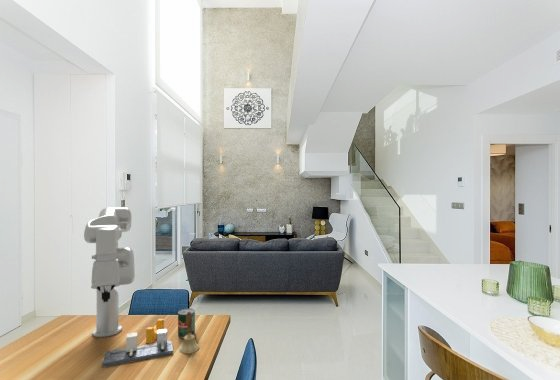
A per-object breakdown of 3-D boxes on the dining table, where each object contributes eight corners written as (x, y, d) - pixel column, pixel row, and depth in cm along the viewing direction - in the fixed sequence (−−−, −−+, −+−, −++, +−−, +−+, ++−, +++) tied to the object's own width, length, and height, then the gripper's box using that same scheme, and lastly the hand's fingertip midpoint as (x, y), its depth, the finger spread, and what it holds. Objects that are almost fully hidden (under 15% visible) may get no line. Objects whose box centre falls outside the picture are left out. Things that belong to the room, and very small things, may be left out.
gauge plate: (105, 355, 132) (105, 337, 132) (171, 343, 142) (171, 326, 142) (102, 367, 122) (102, 347, 123) (172, 354, 132) (173, 336, 133)
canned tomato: (194, 330, 156) (194, 307, 157) (195, 336, 149) (195, 313, 149) (177, 332, 154) (177, 309, 154) (177, 339, 146) (177, 315, 147)
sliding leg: (126, 348, 134) (126, 333, 134) (137, 346, 135) (137, 332, 135) (125, 357, 126) (125, 342, 126) (136, 355, 128) (136, 340, 128)
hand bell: (180, 355, 131) (181, 316, 132) (178, 347, 139) (178, 310, 139) (201, 351, 135) (201, 313, 135) (197, 343, 142) (197, 307, 143)
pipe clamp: (155, 331, 155) (155, 318, 155) (163, 332, 154) (164, 318, 154) (142, 343, 143) (142, 328, 143) (151, 343, 142) (151, 329, 142)
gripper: (83, 260, 125) (83, 306, 126) (125, 258, 131) (125, 301, 132) (87, 256, 132) (86, 300, 133) (126, 254, 138) (126, 295, 138)
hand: (105, 300), depth 132 cm, fingers closed
